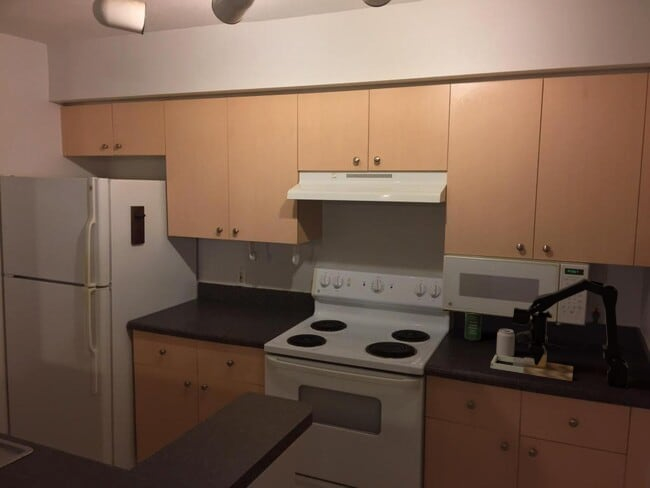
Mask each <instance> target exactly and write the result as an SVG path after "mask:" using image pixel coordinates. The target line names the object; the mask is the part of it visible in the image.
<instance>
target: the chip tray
mask: <svg viewBox="0 0 650 488" xmlns="http://www.w3.org/2000/svg"><path fill="white" fill-rule="evenodd" d="M514 357H515V356H510V357H509V356H502V355H498V354H497V353H495V354H494V357H493V358H492V360H491V362H490V369H495V370H502V371H508V372H514V373H520V374H524V373H523V372H524V368H523V367H517V366H513V365H509V364H503V363H499V362H498V363H497V361H500V362H501V361H502V362H507V363H513V359H514Z"/></svg>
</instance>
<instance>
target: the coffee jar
mask: <svg viewBox="0 0 650 488" xmlns="http://www.w3.org/2000/svg"><path fill="white" fill-rule="evenodd" d="M482 320H483V313H482V314H475V313H466V312H465V320H464V321H465V323H464V339H465V340H468V341H471V342H476V341H477V342H478V341H480V340H481V337H482V323H483V321H482Z"/></svg>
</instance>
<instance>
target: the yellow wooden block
mask: <svg viewBox="0 0 650 488" xmlns="http://www.w3.org/2000/svg"><path fill="white" fill-rule="evenodd" d="M547 354H548V350H547V349H545V353H544V354H543V356H542V358H541V360H540V362H539V364H538V365H535V362H534V368H538V369H544V370H546V362H547V357H548V355H547Z"/></svg>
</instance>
